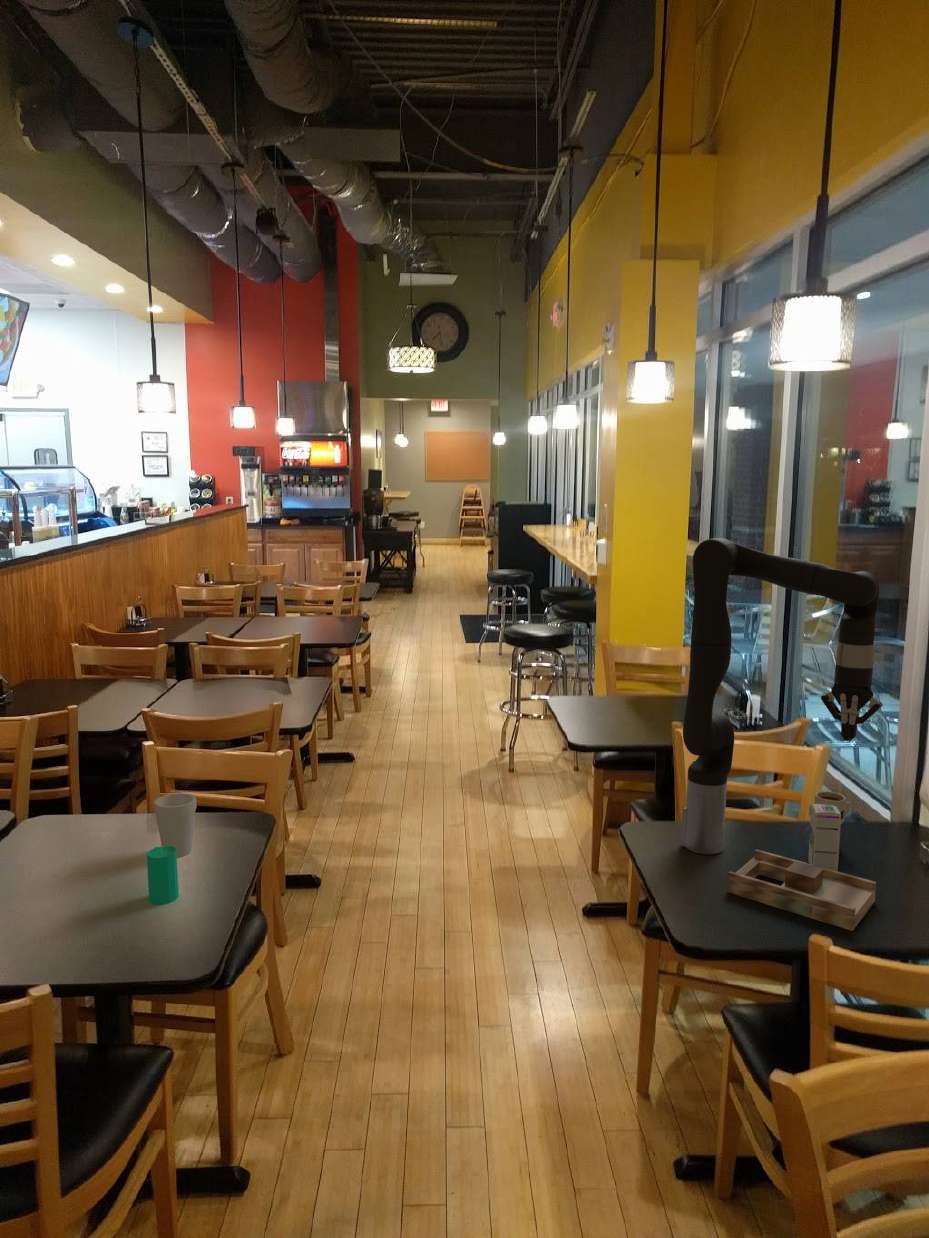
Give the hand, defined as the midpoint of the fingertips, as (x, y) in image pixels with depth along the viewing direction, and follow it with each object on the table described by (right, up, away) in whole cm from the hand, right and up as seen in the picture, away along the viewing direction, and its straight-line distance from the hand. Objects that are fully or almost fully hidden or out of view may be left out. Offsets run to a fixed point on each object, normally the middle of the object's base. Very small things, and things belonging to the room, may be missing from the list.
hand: (848, 739), depth 195 cm
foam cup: (-153, -29, +15) cm, 157 cm away
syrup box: (-2, -31, +9) cm, 33 cm away
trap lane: (-13, -33, -5) cm, 36 cm away
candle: (-149, -33, -8) cm, 153 cm away
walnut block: (-12, -30, -6) cm, 33 cm away
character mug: (+4, -29, +21) cm, 36 cm away
